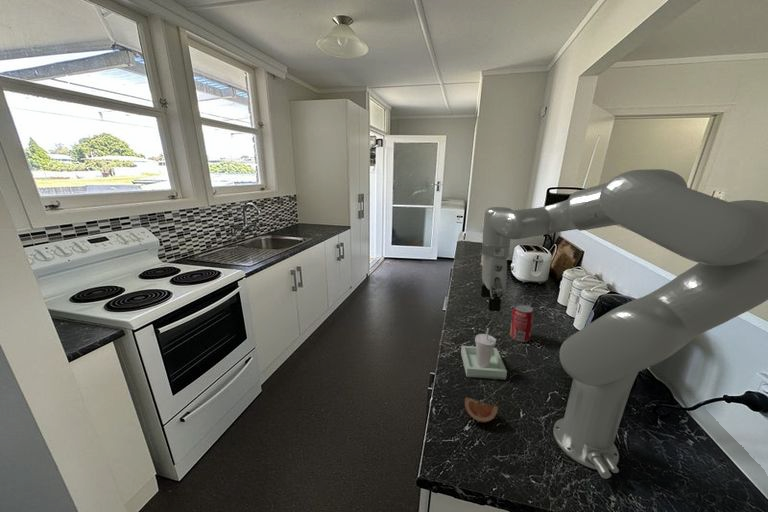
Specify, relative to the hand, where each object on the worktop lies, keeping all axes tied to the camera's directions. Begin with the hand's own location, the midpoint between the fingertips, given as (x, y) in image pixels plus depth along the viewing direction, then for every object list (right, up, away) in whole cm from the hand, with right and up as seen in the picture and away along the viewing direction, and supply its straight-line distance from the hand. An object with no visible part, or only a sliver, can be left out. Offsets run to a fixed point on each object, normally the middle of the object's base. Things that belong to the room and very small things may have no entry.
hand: (489, 303), depth 85 cm
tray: (0, -22, +7) cm, 23 cm away
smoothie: (0, -22, +6) cm, 23 cm away
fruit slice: (-8, -28, -12) cm, 32 cm away
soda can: (+20, -18, +22) cm, 35 cm away
